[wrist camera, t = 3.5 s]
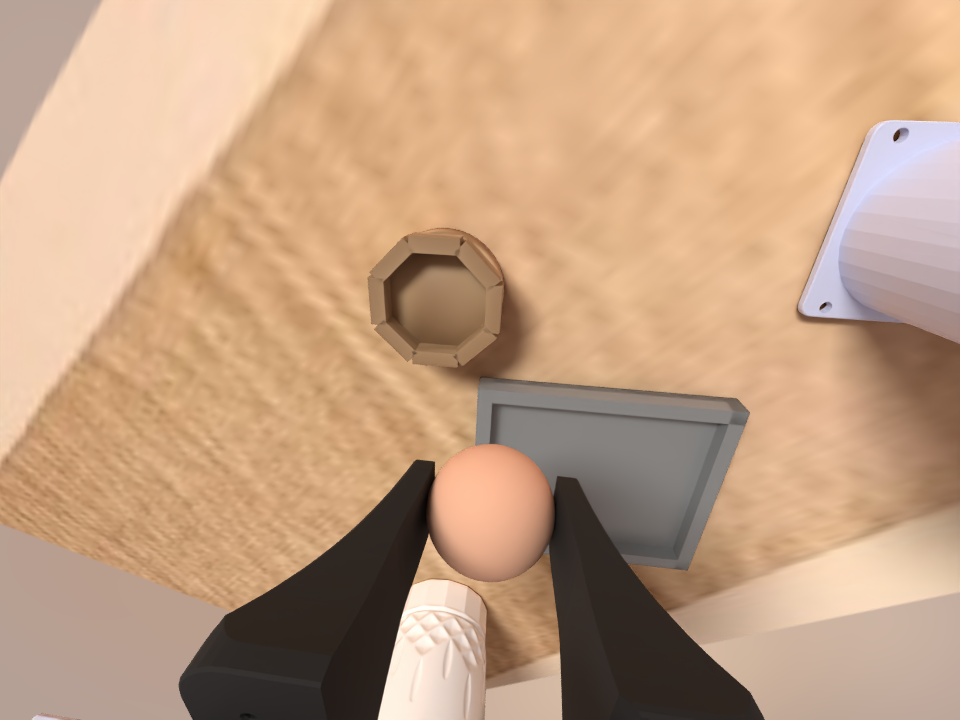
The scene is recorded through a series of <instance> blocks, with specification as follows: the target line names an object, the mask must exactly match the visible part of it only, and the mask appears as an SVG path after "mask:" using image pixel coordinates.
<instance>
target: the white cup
mask: <svg viewBox="0 0 960 720" xmlns="http://www.w3.org/2000/svg"><path fill="white" fill-rule="evenodd" d="M486 616H487V610H486V607H485V605H484V603H483V601H482V599H481V597H480V596H479V595H478V594H477V593H475V592H474V591H473V590H471V589H470V588H469V587H468V586H465V585H463V584H460V583H457V582H454V581H451V580H440V579H429V580H426V581H423V582H420V583H417V584H414V585H413V586H412V587H411V589H410V592H409V595H408V598H407V601H406V604H405V607H404V611H403V614H402V618H401V621H400V626H399V630H398V634H397V638H396V642H395V646H394V650H393V655H392V659H391V663H390V668H389V672H388V676H387V681H386V685H385V689H384V694H383V698H382V703H381V707H380V712H379V716H378V720H484V719H485V694H486V692H485V691H486V650H485V636H486Z"/></svg>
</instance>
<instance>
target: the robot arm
mask: <svg viewBox="0 0 960 720" xmlns="http://www.w3.org/2000/svg"><path fill="white" fill-rule="evenodd" d="M898 129H899V131H900V137H899V138H898V139H897V141H895V142H894V140H893V135H894V134H895V132H896V131H897V130H898ZM825 302H826V306H825V307H824V308H823V309H822V310H819V309H820V306H821V305H822V304H823V303H825ZM798 310H799V312H800V313H802V314H804V315H806V316H809V317H823V318H837V319H852V320H866V321H881V322H895V323H908V324H910V325H913V326H915V327H918V328H920V329H923V330H925V331H928V332H931V333H933V334H936V335H938V336H941V337H943V338H946V339H948V340H951V341H953V342H956V343H958V344H960V122H935V121H905V120H889V121H883V122H879V123H877V124H876V125H874V126H873V127H872V128H871V129H870V130H869V132H868V134H867V135H866V138H865V140H864V143H863V145H862V148H861V150H860V153H859V155H858V158H857V160H856V163H855V165H854V168H853V170H852V173H851V175H850V177H849V180H848V182H847V185H846V187H845V190H844V192H843V195H842V197H841V200H840V202H839V205H838V207H837V210H836V212H835V215H834V217H833V220H832V222H831V225H830V227H829V230H828V232H827V234H826V237H825V239H824V242H823V244H822V247H821V249H820V252H819V254H818V257H817V259H816V262H815V264H814V267H813V269H812V272H811V274H810V277H809V279H808V282H807V284H806V287H805V289H804V291H803V294H802V296H801V299H800V301H799V304H798ZM434 478H435V462H433V461H424V460H416V461H414V462H413V464H412V465H411V466H410V468H409V469H408V470H407V471H406V473H405V474H404V475H403V477H402V478H401V479H400V480H399V481H398V483H397V484H396V485H395V486H394V487H393V488H392V490H391V491H390V492H389V493H388V494H387V495H386V496H385V497H384V498H383V500H382V501H381V502H380V503H379V504H378V505H377V506H376V507H375V508H374V509H373V510H372V511H371V512H370V513H369V514H368V515H367V516H366V517H365V518H364V519H363V520H362V521H361V522H360V523H359V524H358V525H357V526H356V527H355V528H353V529H352V530H351V531H350V532H349V533H348V534H347V535H346V536H344V537H343V538H342V539H341V540H340V541H339V542H337V543H336V544H335V545H334V546H333V547H331V548H330V549H329V550H327V551H326V552H325V553H324V554H322V555H321V556H320V557H318V558H317V559H316V560H314V561H313V562H312V563H310V564H309V565H308V566H306V567H305V568H303V569H302V570H300V571H299V572H297V573H296V574H294V575H293V576H291V577H290V578H288V579H287V580H285V581H284V582H282V583H281V584H279V585H278V586H276V587H275V588H273V589H271V590H270V591H268V592H266V593H265V594H263V595H261V596H260V597H258V598H256V599H254V600H252V601H251V602H249V603H247V604H245V605H243V606H242V607H240V608H238V609H236V610H235V611H233V612H231V613H229V614H227V615H225V616H224V618H223V619H222V620H221V622H220V623H219V624H218V625H217V627H216V628H215V629H214V630H213V631H212V633H211V634H210V635H209V637H208V638H207V639H206V641H205V642H204V644H203V645H202V646H201V648H200V649H199V651H198V652H197V654H196V655H195V657H194V658H193V660H192V661H191V663H190V664H189V665H188V667H187V668H186V670H185V671H184V673H183V674H182V676H181V677H180V681H179V691H180V694H181V697H182V699H183V701H184V703H185V705H186V707H187V709H188V711H189V713H190V715H191V717H192V719H193V720H378V716H379V712H380V707H381V703H382V698H383V694H384V689H385V685H386V681H387V676H388V672H389V668H390V663H391V659H392V655H393V650H394V646H395V642H396V638H397V634H398V630H399V626H400V621H401V618H402V614H403V611H404V607H405V604H406V601H407V598H408V595H409V592H410V589H411V586H412V583H413V580H414V577H415V574H416V571H417V568H418V565H419V562H420V559H421V556H422V553H423V550H424V547H425V544H426V541H427V538H428V534H429V530H428V526H427V518H426V508H427V500H428V495H429V490H430V488H431V485H432V483H433V481H434ZM553 498H554V504H555V524H554V529H553V533H552V537H551V539H550V542H549V554H550V563H551V571H552V579H553V587H554V595H555V603H556V610H557V618H558V627H559V638H560V659H561V687H562V720H765V719H764V717H763V715H762V713H761V712H760V710H759V708H758V706H757V704H756V703H755V701H754V699H753V697H752V695H751V693H750V692H749V691H748V690H747V689H746V688H745V687H744V686H742V685H741V684H740V683H739V682H738V681H737V680H736V679H735V678H733V677H732V676H731V675H730V674H729V673H728V672H727V671H725V670H724V669H723V668H722V667H721V666H720V665H719V664H717V663H716V662H715V661H714V660H713V659H712V658H711V657H710V656H709V655H708V654H707V653H706V652H705V651H704V650H703V649H702V648H701V647H700V646H699V645H698V644H697V643H696V642H694V641H693V640H692V639H691V638H690V637H689V636H688V635H687V634H686V633H685V631H684V630H683V629H682V628H681V627H680V626H679V625H678V624H677V623H676V622H675V621H674V620H673V618H672V617H671V616H670V615H669V614H668V613H667V612H666V611H665V610H664V609H663V608H662V607H661V605H660V604H659V603H658V602H657V601H656V600H655V598H654V597H653V596H652V595H651V594H650V592H649V591H648V590H647V589H646V588H645V586H644V585H643V584H642V582H641V581H640V580H639V579H638V577H637V576H636V575H635V573H634V572H633V571H632V569H631V568H630V567H629V565H628V564H627V563H626V561H625V560H624V558H623V557H622V555H621V554H620V552H619V551H618V550H617V548H616V547H615V545H614V544H613V542H612V540H611V539H610V537H609V536H608V534H607V532H606V531H605V529H604V527H603V526H602V524H601V523H600V521H599V519H598V517H597V516H596V514H595V512H594V510H593V509H592V507H591V505H590V503H589V501H588V499H587V497H586V495H585V493H584V491H583V489H582V487H581V485H580V483H579V481H578V480H577V479H576V478H571V477H562V476H557V479H556V485H555V490H554V496H553ZM32 720H78V719H73V718H67V717H61V716H55V715H50V714H44V713H41V714H38V715H36V716H35V717H34V718H33V719H32Z"/></svg>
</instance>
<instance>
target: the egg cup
mask: <svg viewBox="0 0 960 720" xmlns="http://www.w3.org/2000/svg"><path fill="white" fill-rule="evenodd" d="M370 273H371V274H372V275H371V276H369V277H368V288H369V301H370V313H371V324H375V325H378V326H377V327H376V328H375V329H374V330H375V331H376V332H377V333H378V334H379V335H380V336H381V337H382V338H384V339H385V340H386V341H387V342H388V343H389V344H390V345H391V346H392V347H393V348H394V349H395V350H396V351H397V352H398V353H399V354H400V355H401V356H402V357H403V358H404V359H405V360H406V361H407V362H408V361H409V360H410V359H411V358H412V360H413V364H419V365H431V366H443V367H455V368H458V365H459V363H460V364H461V365H462V366H464V365H465V364H466V363H467V362H469V361H470V360H471V359H472V358H474V357H475V356H476V355H477V354H479V353H480V352H481V351H482V350H483V349H485V348H486V347H487V346H488V345H490V344H491V343H492V342H493V341H495V340H496V339H497V335H498V334H500V327H501V314H502V304H503V297H504V280H503V275H502V271H501V268H500V266H499V264H498V262H497V260H496V258H495V256H494V255H493V254H492V252H491V251H490V250H489V249H488V248H487V247H486V246H485V244H484V243H482V242H481V241H480V240H478V239H477V238H475V237H474V236H472V235H470V234H468V233H466V232H463V231H460V230H456V229H450V228H437V229H430V230H427V231H424V232H422V233H416V232H414V233H412V234H410V235H407V236H405V237H403V238H402V239H401V240H400V241H399V242H398V243H397V244H396V245H395V246H394V247H393V248H392V249H391V250H390V251H389V252H388V253H387V254H386V255H385V256H384V258H383V259H382V260H381V261H380V262H379V263H378V264H377V265H376V266H375V267H374V268H373V269H372V270H371V271H370Z"/></svg>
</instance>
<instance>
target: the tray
mask: <svg viewBox="0 0 960 720" xmlns="http://www.w3.org/2000/svg"><path fill="white" fill-rule="evenodd" d="M749 414H750V412H749V411H748V410H747V409H746V408H745V407H744V406H743V405H742V403H741V402H740V401H739V400H738V399H736V398H724V397H712V396H700V395H688V394H676V393H664V392H653V391H641V390H629V389H617V388H605V387H593V386H581V385H570V384H558V383H546V382H534V381H522V380H510V379H498V378H486V377H481V378H480V382H479V387H478V401H477V423H476V445H475V446H477V445H482V444H498V445H504V446H507V447H510V448H513V449H515V450H517V451H519V452H521V453H523V454H524V455H526V456H527V457H529V458H530V459H531V460H532V461H533V462H534V463H535V464H536V465H537V466H538V467H539V468H540V470H541V471H542V473H543V474H544V476H545V477H546V479H547V481H548V483H549V485H550V488H551V491H552V494H553V496H554V490H555V485H556V479H557V476H562V477H571V478H576V479H577V480H578V481H579V483H580V485H581V487H582V489H583V491H584V493H585V495H586V497H587V499H588V501H589V503H590V505H591V507H592V509H593V510H594V512H595V514H596V516H597V517H598V519H599V521H600V523H601V524H602V526H603V527H604V529H605V531H606V532H607V534H608V536H609V537H610V539H611V540H612V542H613V544H614V545H615V547H616V548H617V550H618V551H619V552H620V554H621V555H622V557H623V558H624V560H625V561H626V563H628V564H636V565H645V566H654V567H662V568H671V569H679V570H688V568H689V565H690V563H691V560H692V558H693V555H694V553H695V550H696V548H697V545H698V543H699V540H700V538H701V535H702V533H703V530H704V527H705V525H706V522H707V520H708V517H709V515H710V512H711V510H712V507H713V505H714V502H715V500H716V497H717V495H718V492H719V490H720V487H721V485H722V482H723V480H724V477H725V475H726V472H727V470H728V467H729V465H730V462H731V460H732V457H733V455H734V452H735V450H736V447H737V445H738V442H739V439H740V437H741V434H742V432H743V429H744V427H745V424H746V422H747V419H748V417H749ZM543 554H549V544H548V546H547V548H546V550H545V552H544V553H543Z"/></svg>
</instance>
